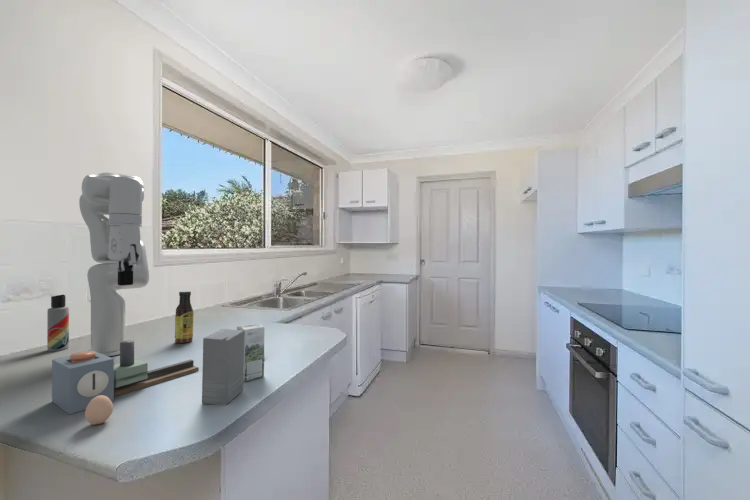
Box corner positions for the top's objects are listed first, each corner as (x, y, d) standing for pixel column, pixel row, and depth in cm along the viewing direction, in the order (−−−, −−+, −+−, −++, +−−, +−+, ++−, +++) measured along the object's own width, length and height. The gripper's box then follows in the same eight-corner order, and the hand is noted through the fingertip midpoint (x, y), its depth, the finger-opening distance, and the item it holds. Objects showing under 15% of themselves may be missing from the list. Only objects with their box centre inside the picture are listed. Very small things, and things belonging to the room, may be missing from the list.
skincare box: (220, 390, 85) (220, 328, 85) (246, 391, 84) (246, 328, 85) (199, 405, 77) (199, 336, 77) (228, 406, 76) (228, 337, 76)
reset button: (66, 375, 78) (66, 354, 78) (91, 369, 82) (91, 349, 82) (73, 379, 76) (73, 358, 76) (98, 372, 80) (98, 352, 80)
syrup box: (255, 371, 98) (255, 322, 98) (264, 377, 94) (264, 325, 94) (236, 376, 94) (235, 325, 94) (244, 382, 90) (244, 329, 90)
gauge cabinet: (52, 401, 79) (52, 359, 79) (94, 389, 86) (94, 350, 86) (70, 415, 72) (71, 369, 72) (115, 401, 79) (115, 359, 79)
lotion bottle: (58, 351, 119) (58, 295, 119) (42, 351, 119) (42, 295, 119) (73, 347, 124) (73, 293, 124) (58, 347, 124) (58, 293, 125)
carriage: (106, 382, 85) (106, 343, 85) (137, 374, 91) (137, 337, 91) (116, 387, 82) (116, 346, 82) (147, 378, 88) (147, 340, 88)
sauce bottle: (184, 344, 128) (184, 292, 128) (170, 343, 129) (170, 292, 129) (197, 339, 134) (197, 290, 134) (183, 339, 135) (183, 290, 135)
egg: (106, 427, 67) (106, 399, 67) (80, 430, 66) (80, 401, 66) (116, 416, 72) (116, 390, 72) (92, 419, 70) (92, 392, 70)
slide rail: (102, 390, 85) (102, 380, 85) (185, 366, 103) (185, 357, 103) (114, 396, 81) (114, 386, 81) (198, 370, 99) (198, 361, 99)
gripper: (99, 220, 96) (99, 284, 96) (120, 219, 88) (120, 288, 88) (130, 222, 102) (129, 281, 102) (152, 221, 94) (151, 285, 94)
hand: (125, 284), depth 95 cm, fingers closed
